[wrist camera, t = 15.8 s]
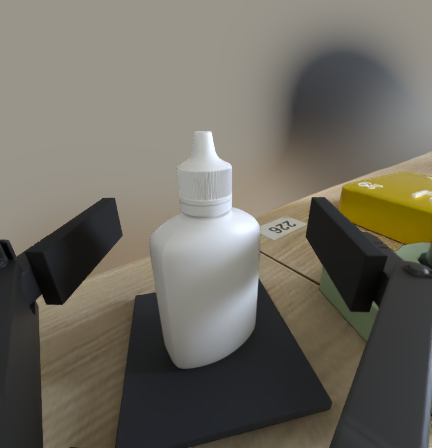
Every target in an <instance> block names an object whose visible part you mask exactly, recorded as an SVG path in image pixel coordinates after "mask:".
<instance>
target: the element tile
mask: <svg viewBox="0 0 432 448" xmlns="http://www.w3.org/2000/svg"><path fill="white" fill-rule="evenodd" d="M338 210H339V211H340V212H341V213H342V214H343V215H344V216H345V217H346V218H348V219H349V220H350V221H351V222H352V223H353V224H356V225H358V226H361V227H363V228H366V229H368V230H371V231H373V232H376V233H378V234H381V235H383V236H386V237H388V238H391V239H393V240H396V241H398V242H401V243H403V244H406V245H408V244H415V243H423V242H425V243H431V241H432V176H426V175H421V174H415V173H409V172H399V173H395V174H390V175H386V176H381V177H376V178H372V179H367V180H362V181H358V182H353V183H349V184H345V185H344V186H343V187H342V192H341V197H340V202H339V207H338Z"/></svg>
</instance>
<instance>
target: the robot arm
mask: <svg viewBox="0 0 432 448" xmlns="http://www.w3.org/2000/svg"><path fill="white" fill-rule="evenodd" d="M121 237H122V230H121V225H120V221H119V216H118V211H117V206H116V202H115V198H102V199H101V200H100V201H98V202H97V203H95V204H94V205H92V206H91V207H89V208H88V209H87V210H85V211H83V212H82V213H81V214H79V215H78V216H76V217H75V218H73V219H72V220H70V221H69V222H67V223H66V224H65V225H63V226H62V227H60V228H59V229H57V230H56V231H54V232H53V233H51V234H50V235H48V236H46V237H45V238H43V239H42V240H41V241H40V242H37V243H36V244H34V246H32V247H30V248H29V249H27V250H26V251H24V252H23V253H21V254H20V255H18V256H17V257H16V255H15V253H14V250H13V248H12V246H11V244H10V242H9V240H0V448H43V430H42V400H41V370H40V340H39V310H38V305H37V303H36V299H37V298H38V297H39V296H40V295H41V294H42V295H43V298H44V300H45V303H46V304H47V305H63V304H64V303H65V302H66V300H67V299H68V298H69V297H70V296H71V295H72V294H73V292H74V291H75V290H76V289H77V288H78V287H79V285H80V284H81V283H82V282H83V281H84V280H85V279H86V277H87V276H88V275H89V274H90V273H91V272H92V270H93V269H94V268H95V267H96V266H97V265H98V263H99V262H100V261H101V260H102V259H103V258H104V257H105V255H106V254H107V253H108V252H109V251H110V250H111V248H112V247H113V246H114V245H115V244H116V243H117V242H118V240H119V239H120V238H121ZM306 238H307V240H308V241H309V243H310V245H311V246H312V248H313V250H314V251H315V253H316V255H317V256H318V258H319V260H320V262H321V263H322V265H323V267H324V268H325V270H326V272H327V273H328V275H329V277H330V278H331V280H332V282H333V283H334V285H335V287H336V288H337V290H338V292H339V293H340V295H341V297H342V299H343V300H344V302H345V304H346V305H347V307H348V309H349V310H350V312H370V309H371V306H372V303H373V301H374V302H375V304H376V305H377V306H378V308H379V310H378V312H377V315H376V318H375V321H374V324H373V326H372V329H371V332H370V335H369V338H368V341H367V343H366V346H365V349H364V352H363V355H362V357H361V360H360V363H359V366H358V369H357V371H356V374H355V377H354V380H353V383H352V386H351V388H350V391H349V394H348V397H347V400H346V402H345V405H344V408H343V411H342V414H341V416H340V419H339V422H338V425H337V427H336V430H335V433H334V436H333V439H332V441H331V444H330V447H329V448H428V443H429V428H430V413H431V398H432V269H431V268H429V267H427V266H425V265H422V264H419V263H416V262H411V261H404V260H403V259H402V258H401V257H399V256H398V255H397V254H396V253H395V252H394V251H392V250H391V249H389V247H388V246H387V245H386V244H383V242H382V241H381V240H380V239H379V238H377V237H376V236H374V235H372V234H370V233H368V232H362V231H360V230H359V229H358V228H357V227H356V226H355V225H354V224H353V223H352V222H351V221H350V220H349V219H348V218H346V217H345V216H344V215H343V214H342V213H341V212H340V211H339V210H338V209H337V208H336V207H335V206H333V205H332V204H331V203H330V202H329V201H328V200H327V199H326V198H325V197H312V200H311V206H310V213H309V219H308V226H307V232H306ZM70 448H75V447H70Z"/></svg>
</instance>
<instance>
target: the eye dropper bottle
mask: <svg viewBox="0 0 432 448" xmlns="http://www.w3.org/2000/svg"><path fill="white" fill-rule="evenodd" d="M177 179H178V190H179V201H180V209H181V211H182V212H181V213H179V214H177V215H176V216H174V217H172V218H171V219H169V220H168V221H166V222H165V223H163V224H162V225H161V226H160V227H159V228H158V229H157V230H156V231H155V232H154V233H153V234H152V236H151V238H150V255H151V262H152V269H153V275H154V282H155V288H156V294H157V301H158V307H159V313H160V319H161V325H162V331H163V337H164V343H165V346H166V348H167V351H168V353H169V355H170V357H171V359H172V361H173V363H174V364H175V365H176V366H177V367H178V368H182V369H190V368H196V367H201V366H205V365H208V364H211V363H214V362H216V361H219V360H221V359H223V358H225V357H226V356H228V355H230V354H231V353H233V352H234V351H235V350H237V349H238V348H239V347H240V346H241V345H242V344H243V343H244V342H245V341H246V340H247V339H248V338H249V336H250V335H251V333H252V332H253V330H254V328H255V322H256V308H257V291H258V274H259V256H260V226H259V224H258V222H257V221H256V220H255V218H254V217H252V216H251V215H250V214H248V213H246V212H244V211H242V210H240V209H237V208H233V207H232V166H231V165H230V164H229V163H228V162H225V161H223V160H221V159H220V158H219V157H218V156H217V154H216V152H215V148H214V144H213V139H212V134H211V131H197V132H194V139H193V148H192V154H191V156H190V158H189V159H188V160H187V161H185V162H183V163H182V164H180V165H179V166H178V167H177Z"/></svg>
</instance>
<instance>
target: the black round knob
mask: <svg viewBox="0 0 432 448" xmlns="http://www.w3.org/2000/svg"><path fill="white" fill-rule="evenodd" d="M423 265H425V266H427V267H429V268H431V269H432V241H431V244H430V246H429V249H428V251H427V254H426V256H425V259H424V261H423Z"/></svg>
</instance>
